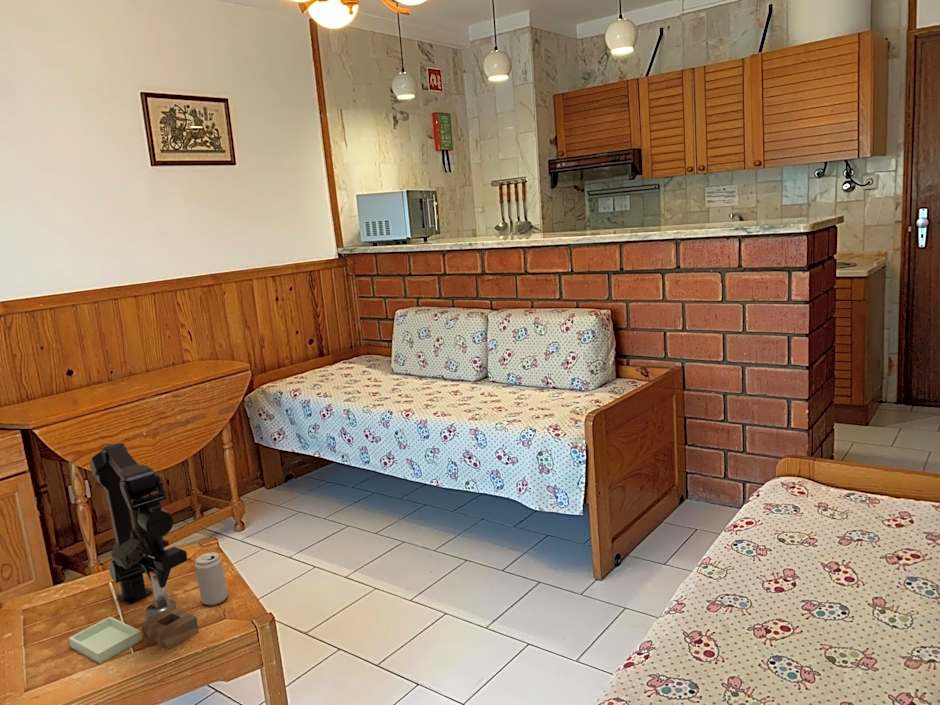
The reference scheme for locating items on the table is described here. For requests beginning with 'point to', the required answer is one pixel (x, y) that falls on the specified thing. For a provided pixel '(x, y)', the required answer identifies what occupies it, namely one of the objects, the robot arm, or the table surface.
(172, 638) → the block
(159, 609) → the dark grey knobbed lid
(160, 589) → the pin
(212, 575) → the beverage can
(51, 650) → the table surface
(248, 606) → the table surface
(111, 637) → the tray
